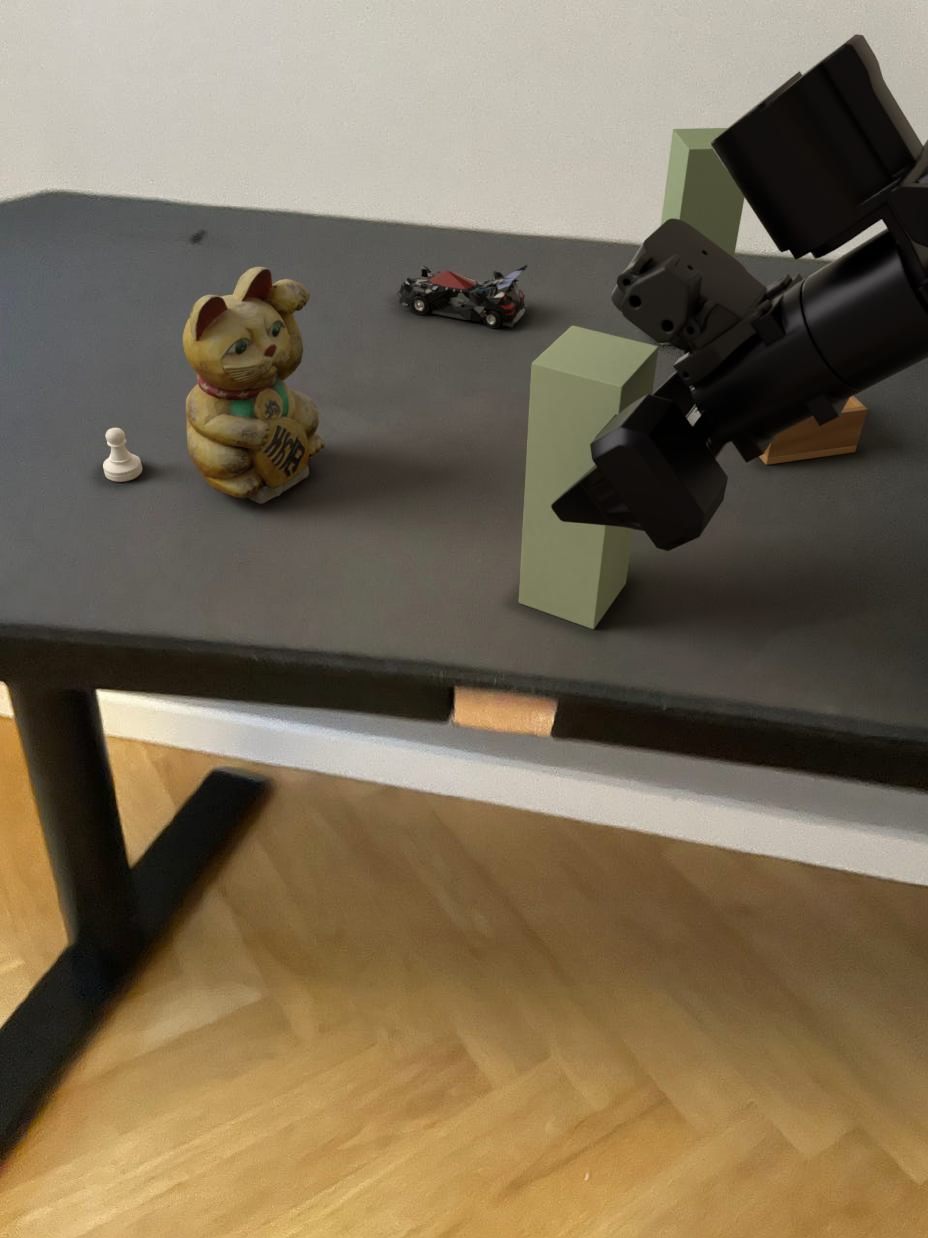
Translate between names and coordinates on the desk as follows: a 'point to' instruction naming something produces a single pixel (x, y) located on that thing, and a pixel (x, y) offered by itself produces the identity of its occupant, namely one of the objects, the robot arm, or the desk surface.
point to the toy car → (466, 296)
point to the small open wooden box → (818, 437)
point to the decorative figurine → (249, 389)
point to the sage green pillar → (576, 471)
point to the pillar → (702, 189)
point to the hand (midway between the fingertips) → (591, 470)
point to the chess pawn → (120, 458)
